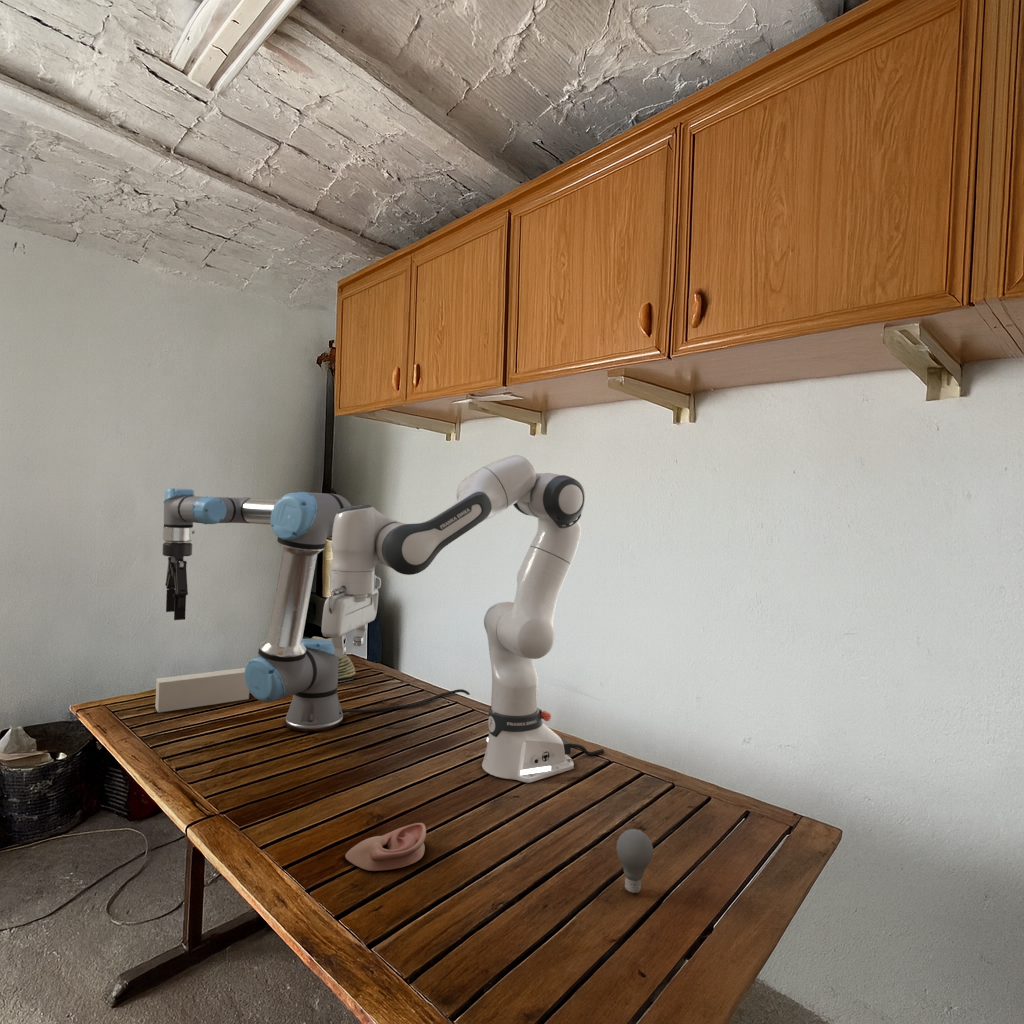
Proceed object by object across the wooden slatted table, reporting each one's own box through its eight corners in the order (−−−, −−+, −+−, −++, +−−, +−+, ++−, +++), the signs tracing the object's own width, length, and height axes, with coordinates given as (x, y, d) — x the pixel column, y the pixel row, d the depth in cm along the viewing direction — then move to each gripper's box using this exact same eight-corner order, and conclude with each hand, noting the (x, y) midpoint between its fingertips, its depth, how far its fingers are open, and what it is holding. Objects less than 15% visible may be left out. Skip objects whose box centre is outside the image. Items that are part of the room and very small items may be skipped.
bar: (158, 712, 179) (159, 682, 179) (155, 707, 183) (156, 678, 182) (248, 699, 194) (249, 671, 194) (244, 694, 198) (245, 667, 198)
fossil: (295, 681, 213) (297, 637, 213) (346, 673, 226) (347, 631, 225) (307, 688, 207) (308, 642, 206) (358, 679, 219) (360, 636, 219)
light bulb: (610, 879, 108) (613, 822, 108) (644, 879, 109) (647, 822, 109) (619, 902, 102) (622, 840, 102) (655, 901, 103) (658, 840, 103)
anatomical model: (337, 842, 109) (366, 811, 120) (336, 865, 109) (365, 832, 120) (410, 854, 106) (432, 821, 117) (409, 878, 106) (432, 842, 118)
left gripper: (201, 545, 174) (198, 622, 175) (184, 538, 194) (181, 607, 195) (170, 545, 170) (167, 624, 170) (156, 538, 190) (154, 609, 190)
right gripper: (346, 591, 119) (343, 664, 120) (383, 578, 140) (381, 641, 140) (314, 589, 120) (311, 661, 121) (356, 577, 141) (354, 639, 141)
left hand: (175, 615), depth 183 cm, fingers open, 13 cm apart
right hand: (349, 650), depth 130 cm, fingers open, 8 cm apart
